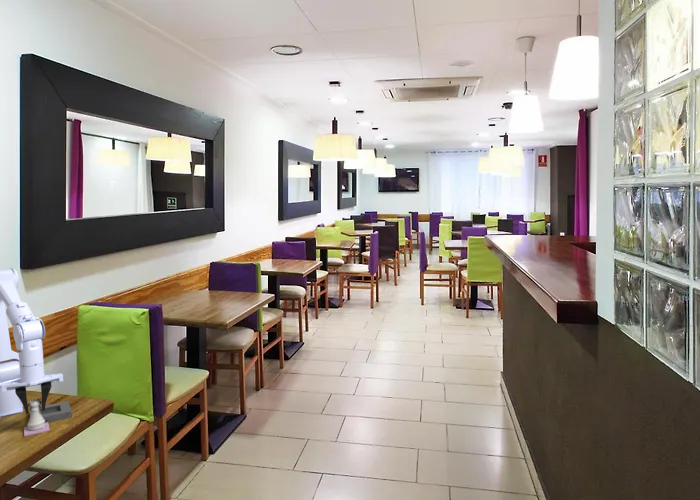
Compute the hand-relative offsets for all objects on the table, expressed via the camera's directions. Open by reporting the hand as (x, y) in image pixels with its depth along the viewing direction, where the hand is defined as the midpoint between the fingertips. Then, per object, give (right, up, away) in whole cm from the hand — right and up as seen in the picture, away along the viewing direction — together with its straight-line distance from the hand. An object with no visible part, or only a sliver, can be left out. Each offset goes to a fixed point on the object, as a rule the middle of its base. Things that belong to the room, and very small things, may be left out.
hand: (35, 411), depth 143 cm
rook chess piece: (0, -5, +1) cm, 5 cm away
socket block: (-2, -5, +10) cm, 11 cm away
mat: (0, -5, 0) cm, 5 cm away
